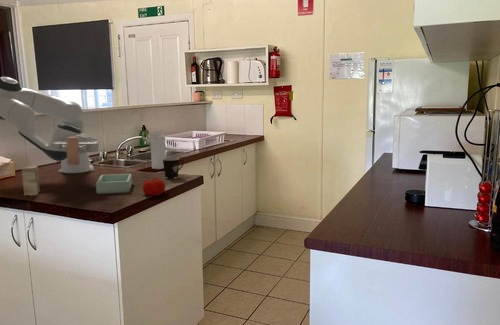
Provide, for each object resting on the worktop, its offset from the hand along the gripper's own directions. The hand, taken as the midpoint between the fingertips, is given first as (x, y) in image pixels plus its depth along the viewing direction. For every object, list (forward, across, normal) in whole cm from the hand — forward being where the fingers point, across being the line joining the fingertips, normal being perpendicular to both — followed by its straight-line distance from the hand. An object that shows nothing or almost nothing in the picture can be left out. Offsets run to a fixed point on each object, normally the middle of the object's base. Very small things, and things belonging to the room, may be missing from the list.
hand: (72, 148), depth 182 cm
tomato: (+10, +35, +19) cm, 41 cm away
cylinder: (-1, 0, +7) cm, 7 cm away
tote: (-5, +17, +20) cm, 26 cm away
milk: (-54, +36, +19) cm, 68 cm away
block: (-1, -18, +20) cm, 27 cm away
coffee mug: (-24, +45, +19) cm, 54 cm away
